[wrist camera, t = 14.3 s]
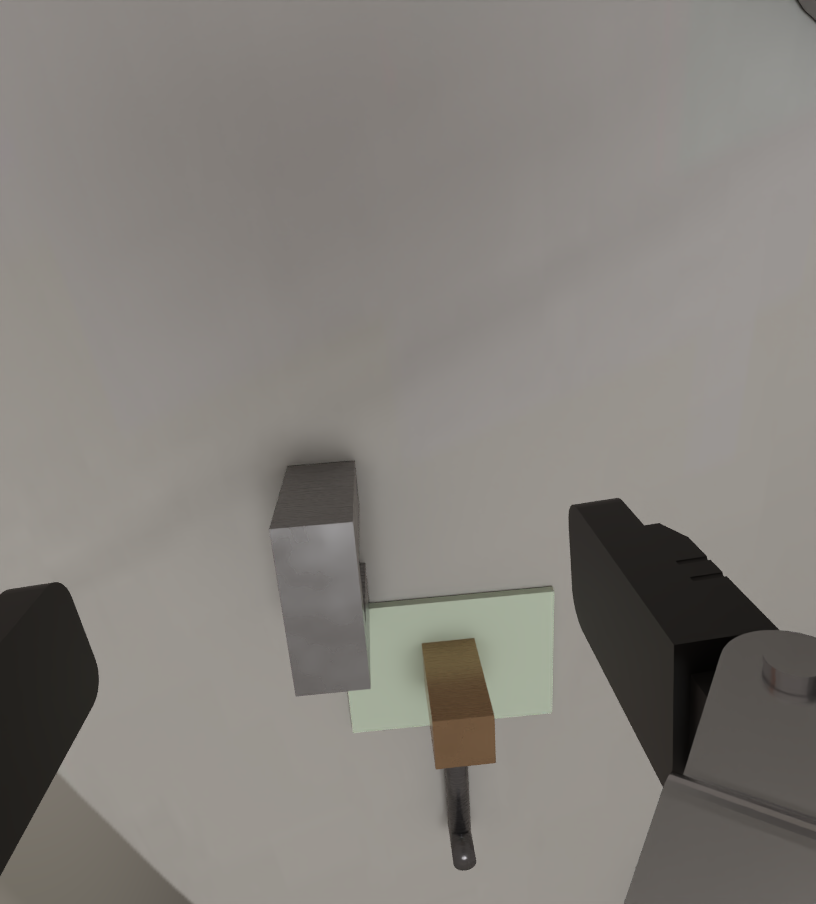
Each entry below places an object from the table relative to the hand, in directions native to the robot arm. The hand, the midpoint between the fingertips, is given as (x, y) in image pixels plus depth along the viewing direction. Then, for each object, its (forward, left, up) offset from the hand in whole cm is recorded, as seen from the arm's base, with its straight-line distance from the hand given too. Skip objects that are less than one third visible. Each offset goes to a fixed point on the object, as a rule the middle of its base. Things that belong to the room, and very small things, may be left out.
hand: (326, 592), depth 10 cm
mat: (-4, +23, -27) cm, 36 cm away
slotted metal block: (+3, +13, -27) cm, 30 cm away
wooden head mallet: (-4, +30, -26) cm, 40 cm away
